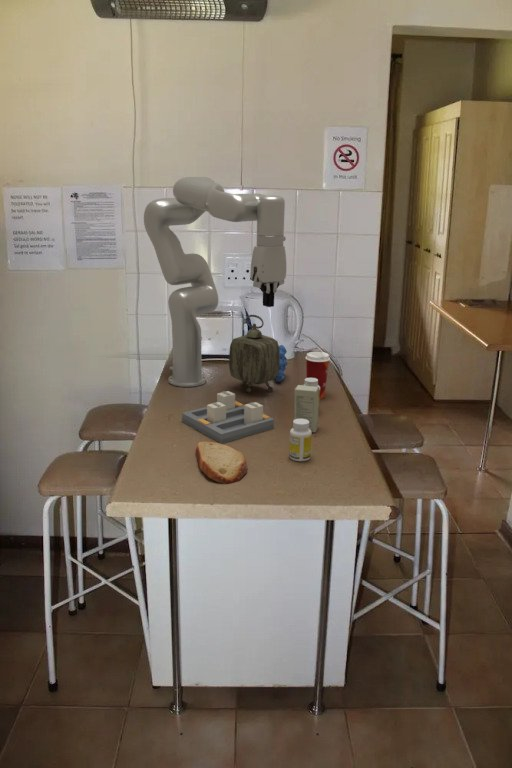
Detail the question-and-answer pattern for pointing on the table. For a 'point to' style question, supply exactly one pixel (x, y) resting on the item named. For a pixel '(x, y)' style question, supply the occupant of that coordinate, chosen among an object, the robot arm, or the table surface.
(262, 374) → the tabletop clock
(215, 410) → the tab
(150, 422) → the table surface
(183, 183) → the robot arm
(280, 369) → the grapes
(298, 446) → the supplement bottle
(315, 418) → the skincare box
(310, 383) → the supplement bottle
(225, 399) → the beige switch slider block
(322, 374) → the paper cup
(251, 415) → the tab
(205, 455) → the bread slice
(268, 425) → the switch bank
